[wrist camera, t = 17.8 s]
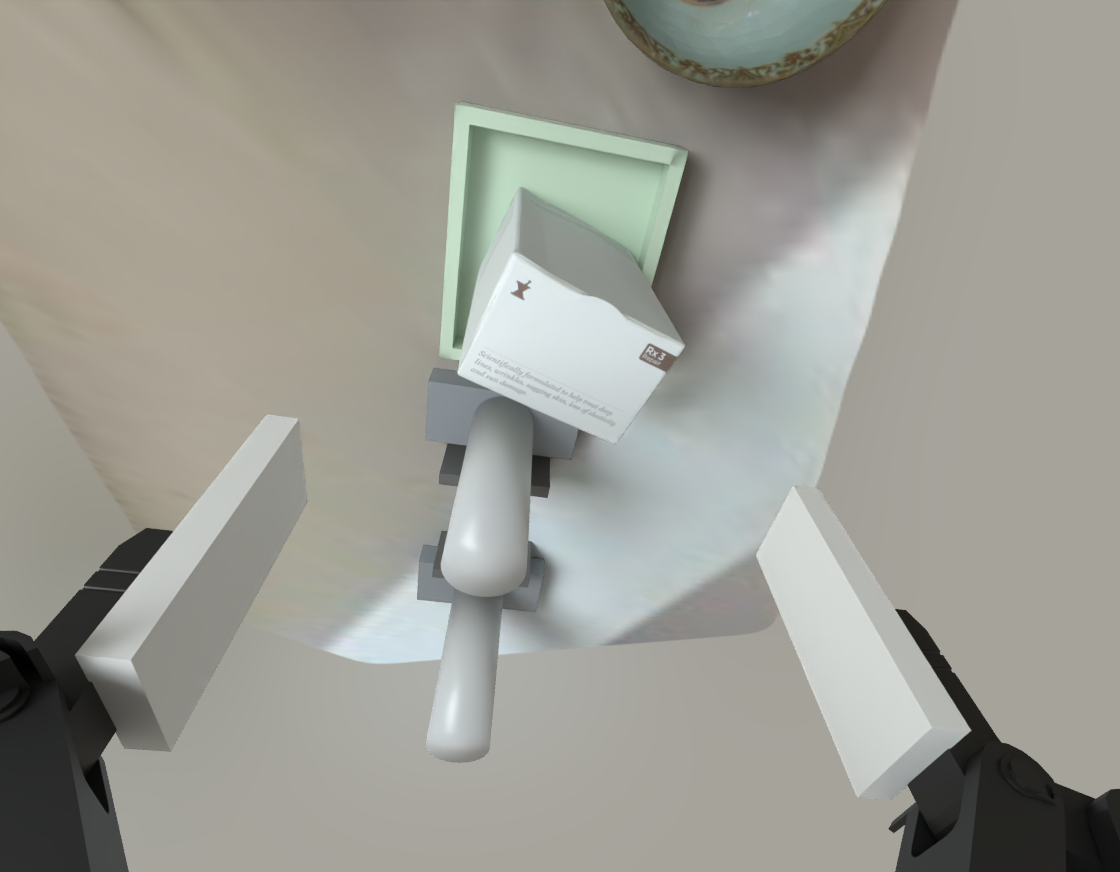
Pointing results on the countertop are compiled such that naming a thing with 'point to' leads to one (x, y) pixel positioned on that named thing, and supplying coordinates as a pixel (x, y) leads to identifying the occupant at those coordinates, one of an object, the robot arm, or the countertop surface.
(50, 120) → the countertop surface
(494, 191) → the tray
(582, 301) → the skincare box
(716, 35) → the bowl
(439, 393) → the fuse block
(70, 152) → the countertop surface
